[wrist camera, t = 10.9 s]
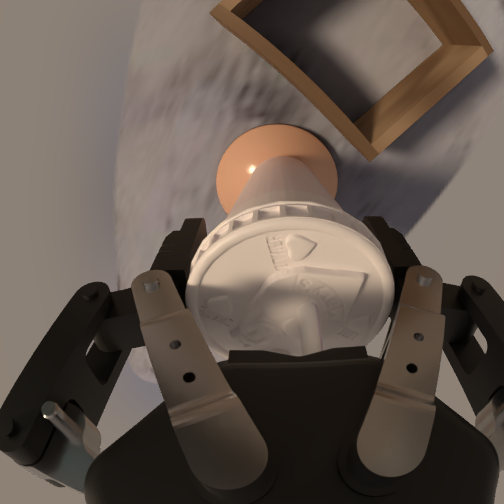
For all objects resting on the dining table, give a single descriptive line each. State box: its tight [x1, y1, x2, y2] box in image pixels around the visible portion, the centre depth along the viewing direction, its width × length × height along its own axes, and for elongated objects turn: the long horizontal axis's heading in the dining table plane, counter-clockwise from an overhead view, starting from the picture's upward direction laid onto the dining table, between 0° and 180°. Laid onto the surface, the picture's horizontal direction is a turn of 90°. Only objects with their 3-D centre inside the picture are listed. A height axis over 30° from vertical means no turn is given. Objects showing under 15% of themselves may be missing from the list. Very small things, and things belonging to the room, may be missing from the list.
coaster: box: [216, 124, 338, 215], centre depth 18 cm, size 7×7×1 cm
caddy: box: [210, 0, 494, 162], centre depth 11 cm, size 10×10×4 cm
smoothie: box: [185, 156, 395, 359], centre depth 11 cm, size 6×6×14 cm
